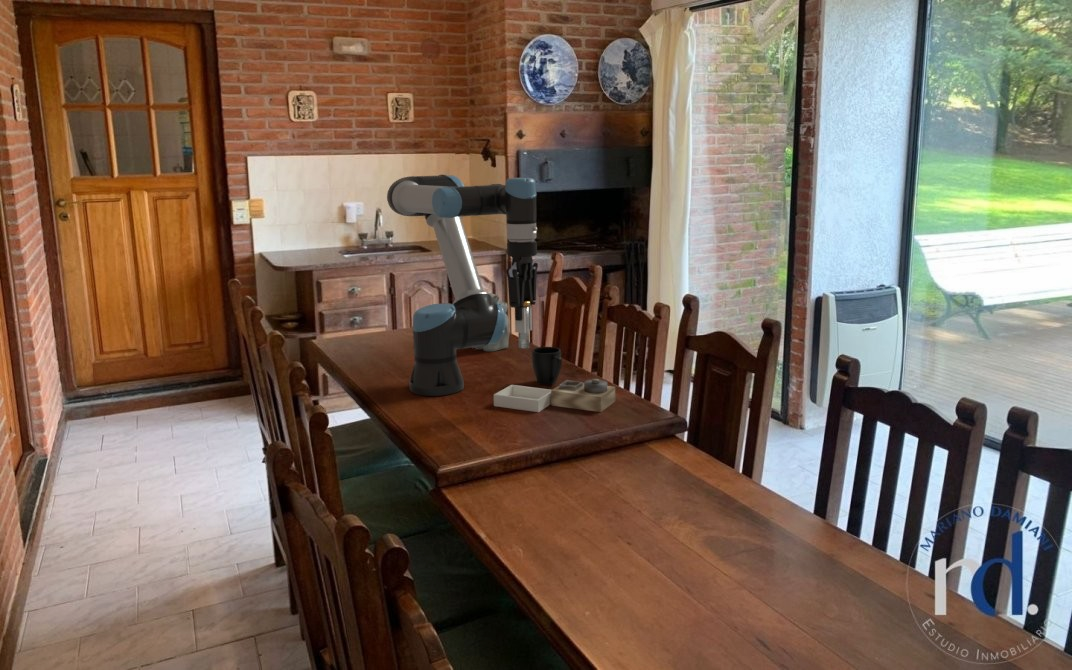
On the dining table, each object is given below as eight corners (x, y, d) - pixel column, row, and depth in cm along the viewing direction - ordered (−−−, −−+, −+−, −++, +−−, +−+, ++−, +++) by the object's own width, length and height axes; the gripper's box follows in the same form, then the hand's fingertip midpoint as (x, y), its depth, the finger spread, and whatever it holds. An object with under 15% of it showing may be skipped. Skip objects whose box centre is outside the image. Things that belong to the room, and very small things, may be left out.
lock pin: (514, 347, 222) (513, 302, 219) (521, 344, 225) (520, 299, 223) (527, 349, 220) (526, 303, 218) (533, 346, 224) (532, 300, 221)
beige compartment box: (551, 405, 225) (550, 380, 223) (567, 395, 233) (566, 370, 232) (600, 412, 219) (601, 386, 217) (615, 401, 227) (615, 376, 226)
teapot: (461, 342, 295) (459, 288, 291) (505, 340, 298) (504, 286, 293) (465, 354, 279) (463, 297, 275) (511, 351, 282) (510, 295, 278)
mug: (546, 391, 237) (545, 357, 235) (527, 380, 248) (527, 348, 246) (572, 387, 241) (572, 354, 239) (553, 377, 251) (552, 345, 249)
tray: (493, 405, 225) (493, 394, 224) (511, 395, 234) (511, 384, 233) (538, 412, 219) (538, 400, 218) (555, 401, 228) (555, 390, 227)
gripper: (520, 244, 208) (522, 338, 213) (548, 237, 222) (549, 326, 227) (493, 243, 211) (496, 336, 217) (522, 236, 225) (524, 323, 230)
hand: (523, 330), depth 222 cm, fingers closed on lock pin, 3 cm apart
